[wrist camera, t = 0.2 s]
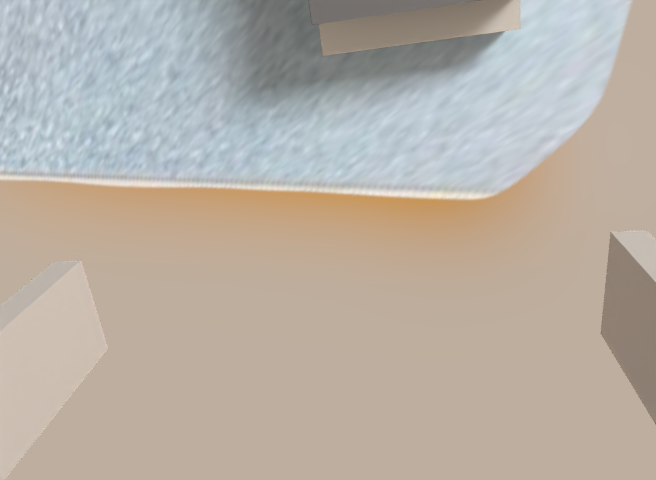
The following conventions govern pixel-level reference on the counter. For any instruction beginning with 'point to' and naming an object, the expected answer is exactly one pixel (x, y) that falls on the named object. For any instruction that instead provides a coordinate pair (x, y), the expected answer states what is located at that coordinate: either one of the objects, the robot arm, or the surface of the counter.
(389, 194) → the counter surface
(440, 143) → the counter surface
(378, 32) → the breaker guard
